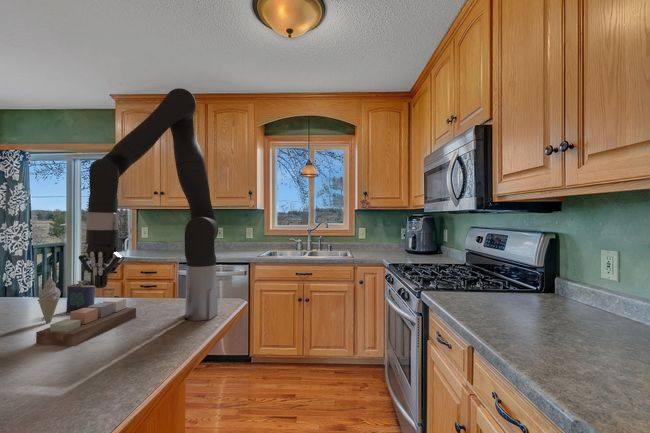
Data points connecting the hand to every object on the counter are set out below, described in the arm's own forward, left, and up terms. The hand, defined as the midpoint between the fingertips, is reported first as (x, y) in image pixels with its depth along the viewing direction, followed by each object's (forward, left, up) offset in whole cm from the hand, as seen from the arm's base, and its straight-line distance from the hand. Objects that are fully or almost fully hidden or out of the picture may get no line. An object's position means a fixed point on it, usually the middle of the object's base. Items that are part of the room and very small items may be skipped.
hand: (100, 287), depth 90 cm
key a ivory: (0, -5, -8) cm, 10 cm away
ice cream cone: (+17, -1, -12) cm, 21 cm away
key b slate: (0, 0, -8) cm, 8 cm away
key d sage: (0, +11, -9) cm, 15 cm away
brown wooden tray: (0, +3, -12) cm, 12 cm away
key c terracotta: (0, +6, -8) cm, 10 cm away
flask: (+20, -15, -12) cm, 28 cm away
